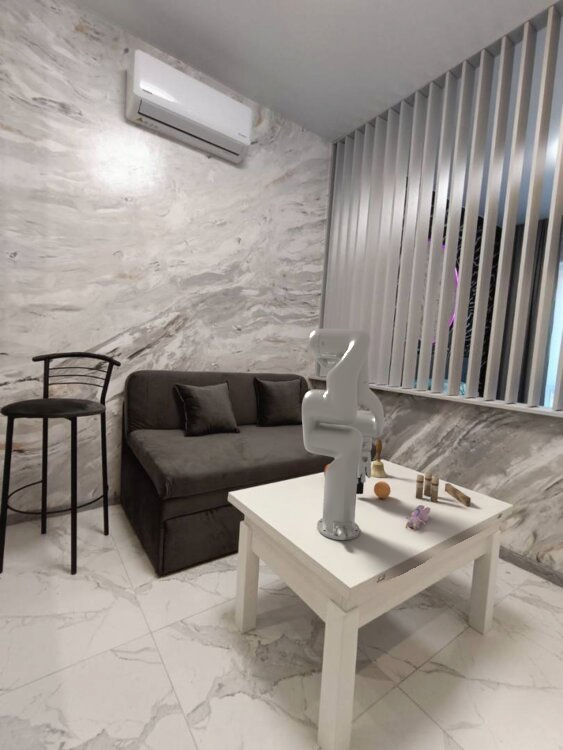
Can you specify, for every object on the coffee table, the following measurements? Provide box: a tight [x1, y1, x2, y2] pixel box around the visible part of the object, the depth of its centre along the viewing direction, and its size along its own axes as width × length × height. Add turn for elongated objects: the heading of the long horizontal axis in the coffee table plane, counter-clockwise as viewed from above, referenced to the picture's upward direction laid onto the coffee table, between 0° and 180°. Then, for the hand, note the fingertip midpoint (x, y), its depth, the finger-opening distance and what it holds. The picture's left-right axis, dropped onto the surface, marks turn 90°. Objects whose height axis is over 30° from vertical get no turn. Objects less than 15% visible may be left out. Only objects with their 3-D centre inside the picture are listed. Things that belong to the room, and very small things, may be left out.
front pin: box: [415, 474, 425, 500], centre depth 133 cm, size 2×2×8 cm
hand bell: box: [371, 438, 388, 479], centre depth 156 cm, size 8×8×16 cm
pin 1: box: [423, 472, 433, 498], centre depth 136 cm, size 2×2×8 cm
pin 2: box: [429, 476, 440, 503], centre depth 131 cm, size 2×2×8 cm
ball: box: [373, 480, 392, 499], centre depth 132 cm, size 6×6×6 cm
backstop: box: [444, 483, 472, 507], centre depth 134 cm, size 14×2×3 cm, turn 5°
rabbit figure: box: [404, 504, 431, 533], centre depth 113 cm, size 6×6×15 cm
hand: (358, 493), depth 131 cm, fingers closed
